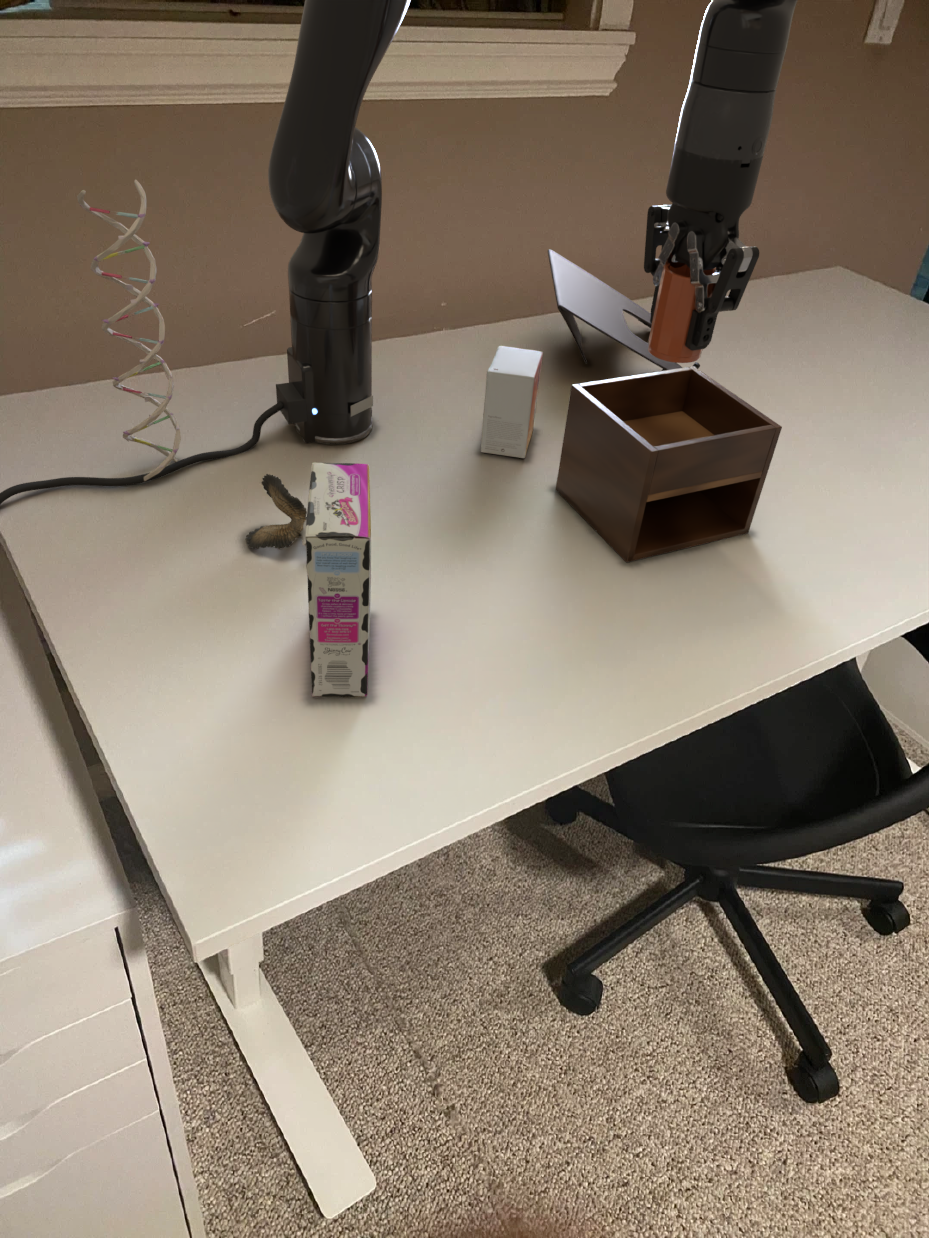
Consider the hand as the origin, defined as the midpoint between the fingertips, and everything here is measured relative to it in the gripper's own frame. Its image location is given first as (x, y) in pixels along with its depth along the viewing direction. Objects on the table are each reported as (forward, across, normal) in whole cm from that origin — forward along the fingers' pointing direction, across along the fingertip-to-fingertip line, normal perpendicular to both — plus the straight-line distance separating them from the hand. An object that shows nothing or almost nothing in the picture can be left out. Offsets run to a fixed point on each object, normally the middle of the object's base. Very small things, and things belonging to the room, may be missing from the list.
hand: (677, 335), depth 88 cm
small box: (+21, -20, -6) cm, 29 cm away
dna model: (+21, -26, -47) cm, 58 cm away
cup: (+2, 0, 0) cm, 2 cm away
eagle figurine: (+21, -8, -37) cm, 43 cm away
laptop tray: (+21, -39, +22) cm, 49 cm away
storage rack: (+21, 0, +2) cm, 21 cm away
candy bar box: (+21, +10, -38) cm, 45 cm away
